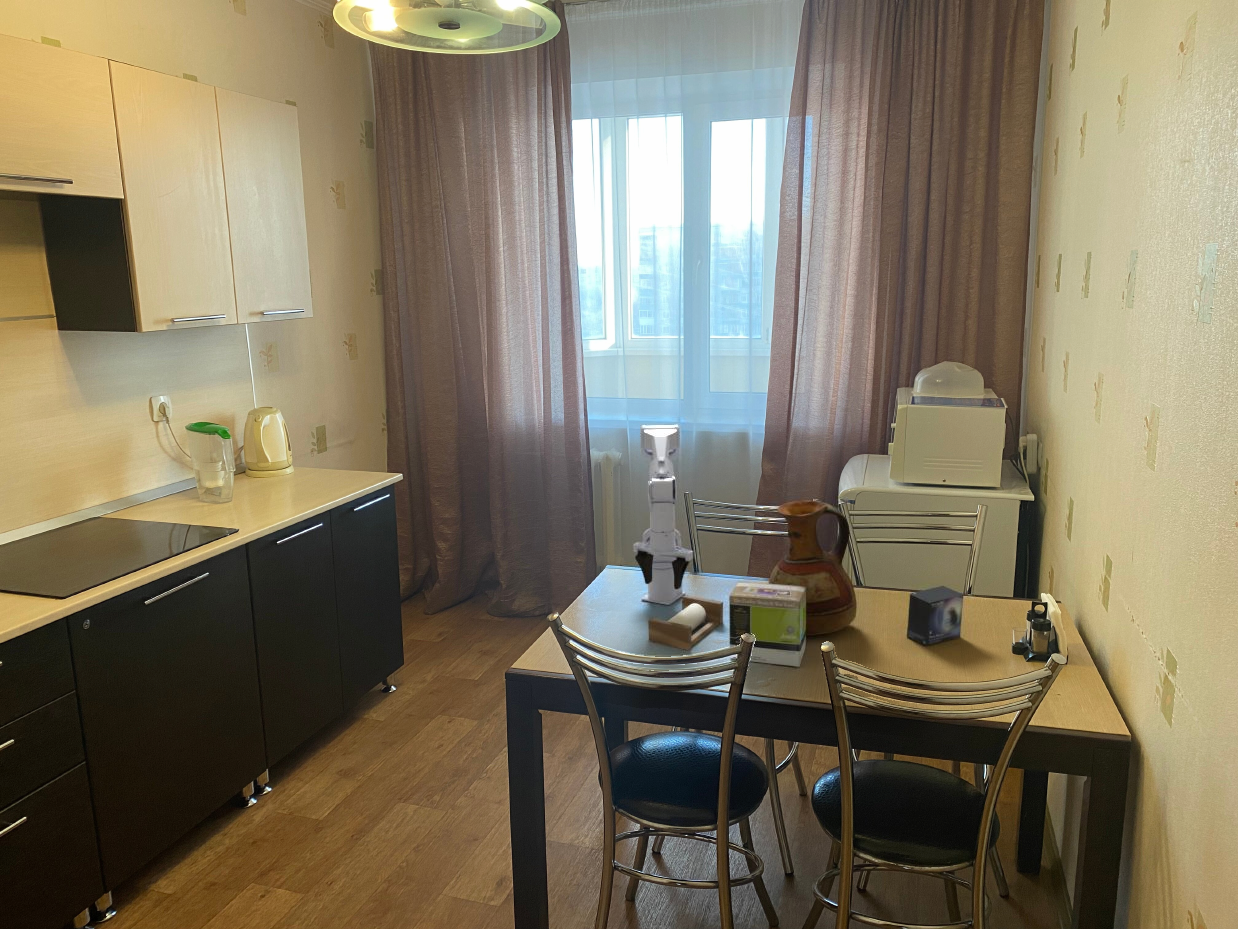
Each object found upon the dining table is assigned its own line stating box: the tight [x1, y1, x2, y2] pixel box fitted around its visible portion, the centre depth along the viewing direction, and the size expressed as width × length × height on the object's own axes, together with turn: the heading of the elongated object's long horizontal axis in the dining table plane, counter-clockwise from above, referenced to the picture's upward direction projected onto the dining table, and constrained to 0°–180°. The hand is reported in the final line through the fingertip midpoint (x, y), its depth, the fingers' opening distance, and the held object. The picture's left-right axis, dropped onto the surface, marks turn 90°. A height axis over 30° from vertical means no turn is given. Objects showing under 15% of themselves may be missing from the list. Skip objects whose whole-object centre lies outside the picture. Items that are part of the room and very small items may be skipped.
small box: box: [906, 585, 965, 647], centre depth 200 cm, size 11×6×10 cm, turn 118°
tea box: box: [728, 580, 807, 668], centre depth 192 cm, size 15×10×15 cm
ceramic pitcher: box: [768, 499, 858, 636], centre depth 205 cm, size 20×20×30 cm
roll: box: [667, 603, 706, 631], centre depth 206 cm, size 12×5×5 cm
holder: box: [647, 594, 724, 651], centre depth 207 cm, size 18×10×5 cm, turn 149°
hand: (663, 585), depth 210 cm, fingers open, 7 cm apart
